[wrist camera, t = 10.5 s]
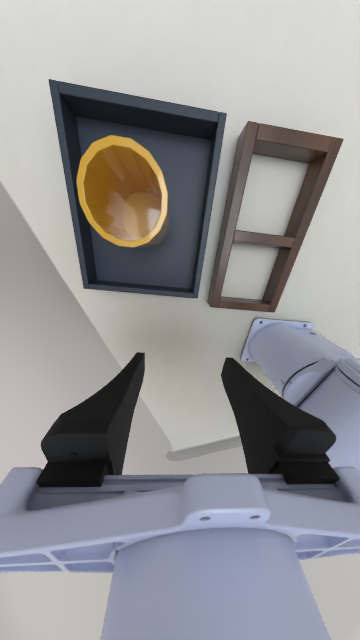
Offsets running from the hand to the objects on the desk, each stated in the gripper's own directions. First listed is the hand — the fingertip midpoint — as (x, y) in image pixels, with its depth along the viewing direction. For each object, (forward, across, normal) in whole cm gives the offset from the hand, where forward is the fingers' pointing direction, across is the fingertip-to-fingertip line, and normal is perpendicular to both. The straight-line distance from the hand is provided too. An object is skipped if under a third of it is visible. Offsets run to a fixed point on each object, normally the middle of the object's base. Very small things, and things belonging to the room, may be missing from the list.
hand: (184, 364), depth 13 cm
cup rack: (+10, -8, -11) cm, 17 cm away
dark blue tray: (+10, +5, -12) cm, 16 cm away
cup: (+9, +5, -12) cm, 16 cm away
